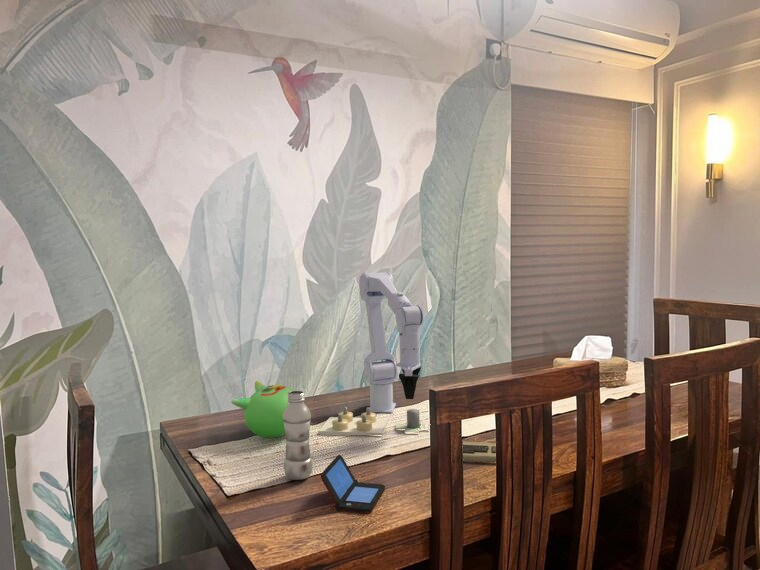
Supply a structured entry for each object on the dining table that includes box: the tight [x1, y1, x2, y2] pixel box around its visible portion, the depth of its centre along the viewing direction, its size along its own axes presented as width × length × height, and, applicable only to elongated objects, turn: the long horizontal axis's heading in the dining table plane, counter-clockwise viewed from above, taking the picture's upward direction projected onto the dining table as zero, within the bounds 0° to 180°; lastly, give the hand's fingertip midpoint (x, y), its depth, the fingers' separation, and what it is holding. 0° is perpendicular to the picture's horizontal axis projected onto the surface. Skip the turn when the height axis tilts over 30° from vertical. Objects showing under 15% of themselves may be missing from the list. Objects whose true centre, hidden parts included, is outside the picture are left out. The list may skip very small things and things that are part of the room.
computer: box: [463, 441, 497, 464], centre depth 144 cm, size 16×8×3 cm, turn 78°
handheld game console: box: [320, 454, 386, 514], centre depth 122 cm, size 12×11×7 cm
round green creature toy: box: [231, 380, 295, 439], centre depth 162 cm, size 18×17×15 cm
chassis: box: [318, 406, 390, 436], centre depth 167 cm, size 13×18×5 cm
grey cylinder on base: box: [395, 408, 430, 433], centre depth 166 cm, size 10×10×6 cm
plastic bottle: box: [283, 390, 314, 481], centre depth 132 cm, size 6×7×20 cm
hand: (410, 395), depth 165 cm, fingers open, 7 cm apart
